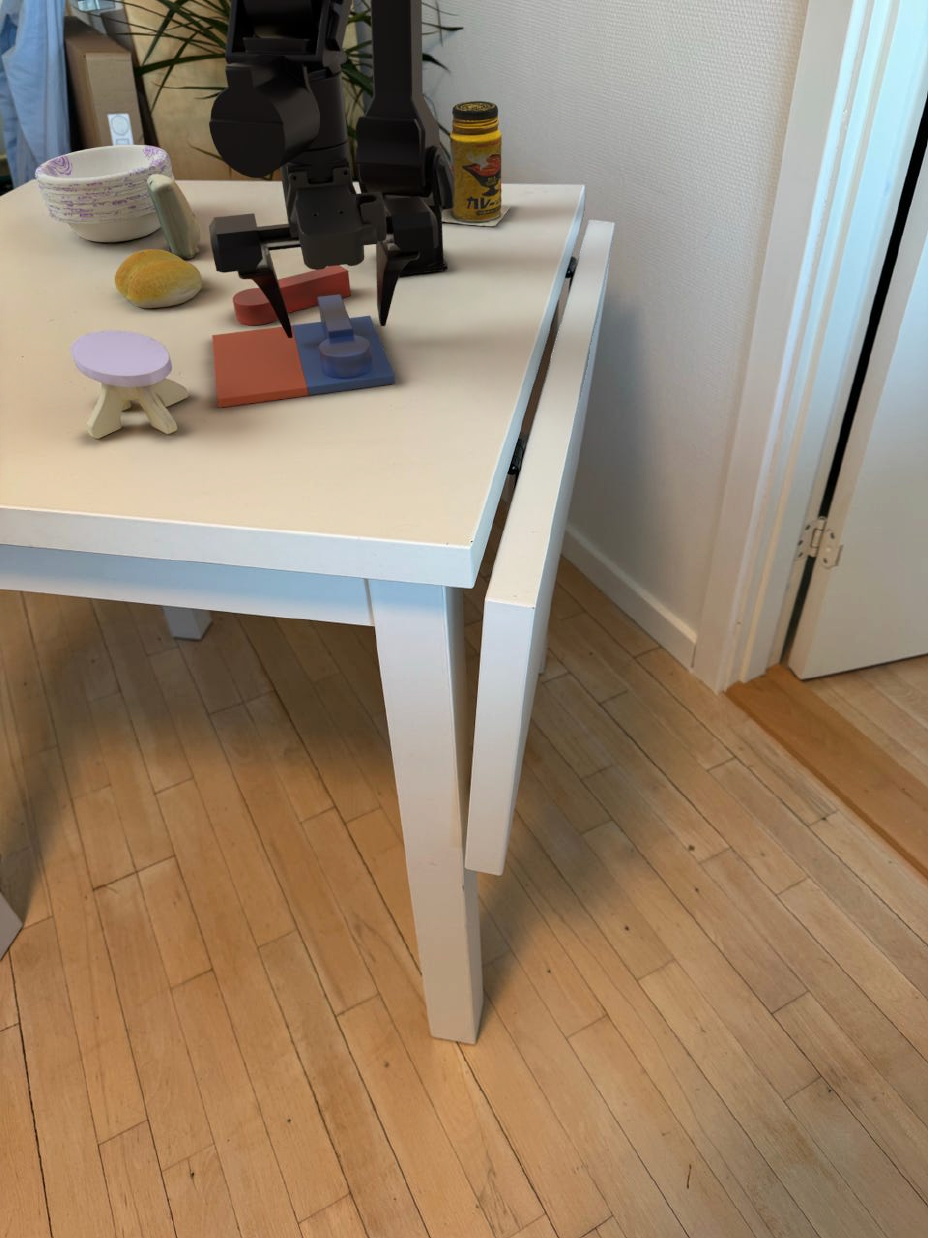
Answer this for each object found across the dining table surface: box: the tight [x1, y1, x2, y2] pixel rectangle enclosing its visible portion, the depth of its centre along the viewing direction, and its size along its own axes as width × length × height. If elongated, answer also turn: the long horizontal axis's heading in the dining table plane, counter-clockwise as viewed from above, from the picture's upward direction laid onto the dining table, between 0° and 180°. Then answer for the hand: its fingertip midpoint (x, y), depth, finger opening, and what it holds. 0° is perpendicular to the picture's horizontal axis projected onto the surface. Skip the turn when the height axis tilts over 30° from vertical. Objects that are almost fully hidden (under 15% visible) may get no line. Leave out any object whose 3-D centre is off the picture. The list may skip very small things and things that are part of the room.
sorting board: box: [211, 315, 396, 409], centre depth 78 cm, size 15×13×1 cm
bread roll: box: [114, 248, 203, 309], centre depth 90 cm, size 8×9×4 cm
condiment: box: [442, 100, 512, 227], centre depth 104 cm, size 7×8×12 cm
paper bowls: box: [34, 144, 176, 243], centre depth 104 cm, size 15×15×8 cm
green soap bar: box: [147, 174, 202, 261], centre depth 98 cm, size 6×5×8 cm
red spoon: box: [232, 265, 352, 326], centre depth 87 cm, size 12×4×3 cm, turn 124°
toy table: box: [70, 329, 189, 440], centre depth 70 cm, size 10×9×6 cm
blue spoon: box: [317, 294, 372, 379], centre depth 78 cm, size 12×4×3 cm, turn 14°
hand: (336, 330), depth 80 cm, fingers open, 8 cm apart
